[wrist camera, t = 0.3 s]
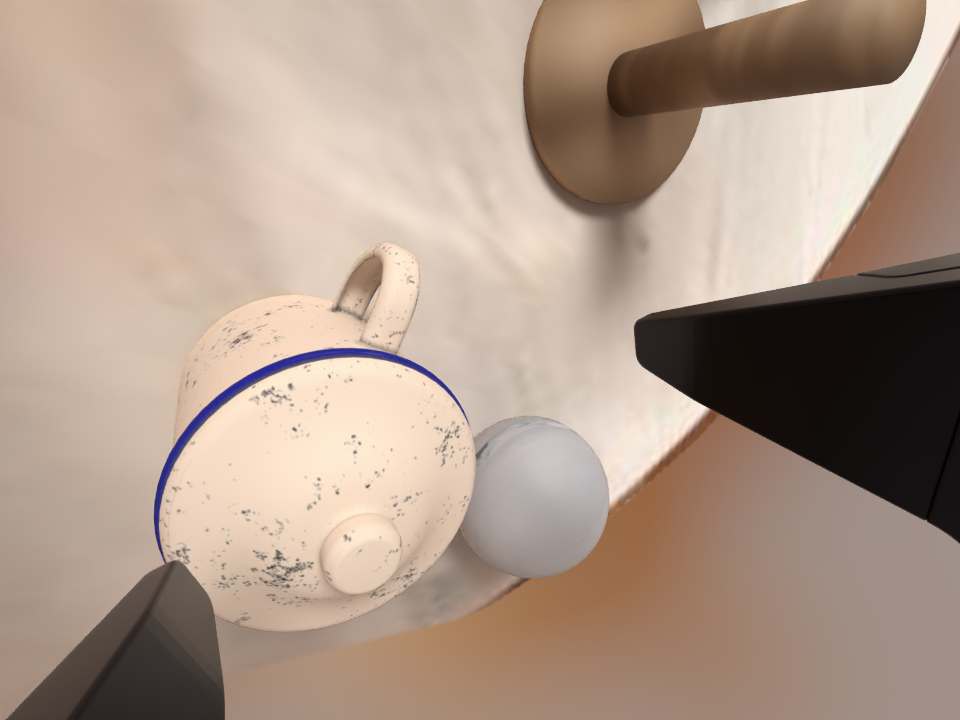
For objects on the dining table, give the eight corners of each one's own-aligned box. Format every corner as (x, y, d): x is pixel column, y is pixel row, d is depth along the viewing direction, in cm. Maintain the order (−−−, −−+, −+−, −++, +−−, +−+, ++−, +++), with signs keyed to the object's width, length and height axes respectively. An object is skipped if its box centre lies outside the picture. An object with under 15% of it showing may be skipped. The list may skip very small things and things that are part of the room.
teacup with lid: (350, 491, 24) (446, 699, 15) (139, 462, 19) (75, 750, 10) (446, 272, 23) (620, 344, 13) (245, 178, 18) (293, 185, 8)
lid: (482, 23, 20) (750, -119, 10) (662, -95, 22) (1028, -309, 12) (574, 243, 26) (799, 287, 16) (709, 134, 28) (981, 113, 18)
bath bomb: (475, 371, 26) (568, 440, 19) (568, 418, 30) (670, 487, 24) (401, 499, 26) (468, 609, 19) (504, 526, 31) (587, 623, 24)
